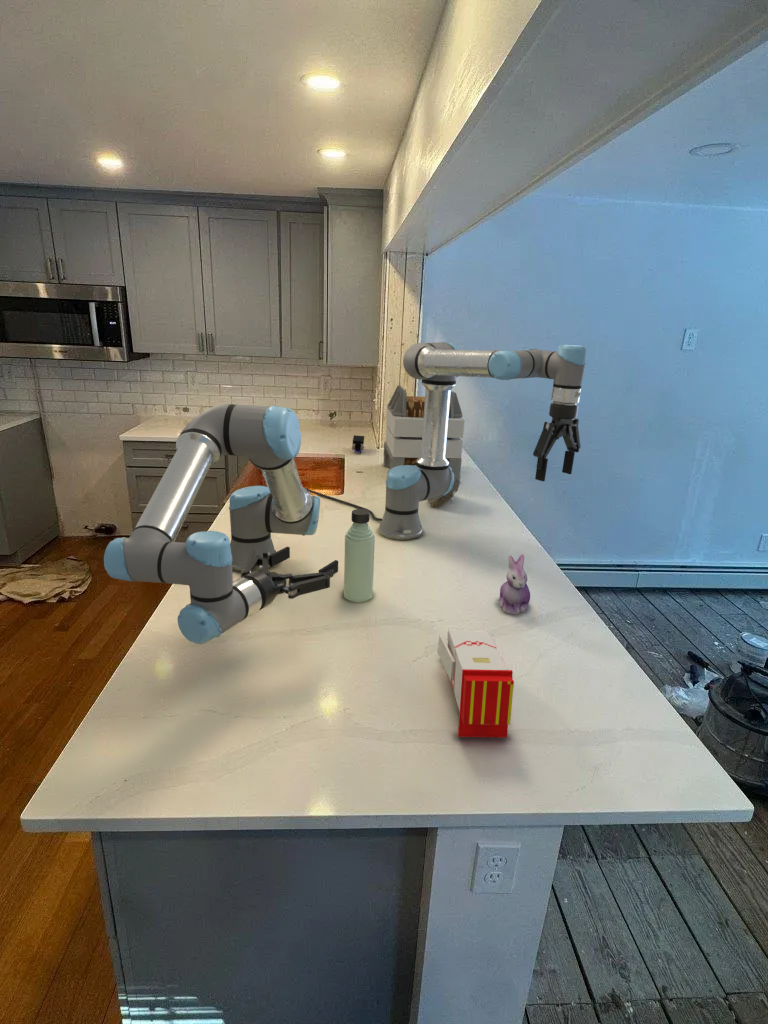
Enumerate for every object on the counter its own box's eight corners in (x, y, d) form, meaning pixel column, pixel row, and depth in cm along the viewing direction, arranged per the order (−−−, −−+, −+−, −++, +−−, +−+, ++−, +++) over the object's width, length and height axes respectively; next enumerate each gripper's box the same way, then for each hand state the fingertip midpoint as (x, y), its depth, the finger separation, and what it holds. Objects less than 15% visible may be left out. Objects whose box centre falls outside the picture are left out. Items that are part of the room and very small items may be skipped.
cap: (372, 522, 148) (372, 513, 147) (355, 524, 146) (355, 515, 145) (365, 516, 152) (365, 508, 151) (348, 518, 150) (348, 509, 149)
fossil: (424, 482, 246) (453, 463, 241) (437, 499, 248) (465, 480, 243) (422, 503, 226) (454, 483, 221) (436, 521, 229) (467, 502, 224)
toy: (488, 613, 130) (523, 677, 101) (484, 667, 133) (517, 744, 104) (435, 612, 130) (455, 676, 101) (432, 666, 133) (451, 743, 103)
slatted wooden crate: (382, 463, 289) (386, 382, 275) (445, 464, 293) (451, 384, 279) (390, 482, 257) (394, 392, 243) (460, 483, 261) (468, 394, 247)
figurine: (512, 619, 147) (519, 566, 142) (488, 601, 156) (494, 551, 151) (540, 611, 151) (548, 560, 146) (515, 594, 160) (522, 546, 155)
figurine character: (364, 456, 305) (364, 447, 319) (364, 443, 302) (364, 434, 315) (351, 456, 305) (352, 446, 318) (351, 443, 302) (352, 434, 315)
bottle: (377, 598, 155) (380, 516, 147) (350, 604, 151) (352, 520, 143) (365, 586, 161) (368, 506, 153) (339, 591, 158) (340, 510, 150)
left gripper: (204, 595, 120) (269, 561, 137) (299, 629, 108) (357, 587, 126) (202, 562, 117) (269, 532, 135) (299, 594, 106) (358, 556, 124)
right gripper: (550, 408, 147) (539, 486, 154) (600, 401, 162) (588, 473, 170) (526, 404, 152) (516, 480, 159) (577, 398, 168) (566, 467, 175)
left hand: (312, 558), depth 131 cm, fingers open, 13 cm apart
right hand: (553, 476), depth 165 cm, fingers open, 13 cm apart
